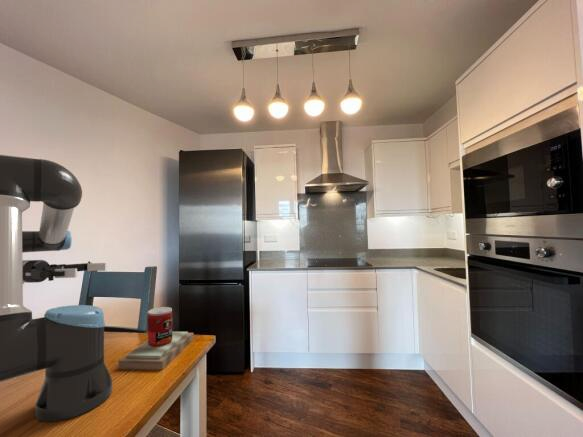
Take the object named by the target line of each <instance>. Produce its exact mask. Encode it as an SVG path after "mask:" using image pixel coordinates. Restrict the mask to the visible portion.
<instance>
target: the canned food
mask: <svg viewBox="0 0 583 437" xmlns="http://www.w3.org/2000/svg"><path fill="white" fill-rule="evenodd" d="M172 332H173V308H172V307H169V306H160V307H155V308H151V309H149V310H148V311H147V340H148V344H149V345H150V346H152V347H159V346H164V345H167V344H169V343H170V342H171V341H172Z"/></svg>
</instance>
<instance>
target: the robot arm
mask: <svg viewBox="0 0 583 437" xmlns="http://www.w3.org/2000/svg"><path fill="white" fill-rule="evenodd" d="M82 198H83V189H82V186H81V183H80V181H79V180H78V178H77V177H76V176H75V175H74V173H72V172H71V170H69V169H67V168H66V167H64V166H63V165H62V164H60V163H58V162H54V161H52V160H49V159H41V158H32V157H30V158H29V157H23V156H14V155H5V154H4V155H3V154H0V383H1V382H5V381H9V380H12V379H15V378H18V377H21V376H25V375H29V374H31V373H35V372H38V371H42V370H45V371H44V372H45V376H44V377H45V378H44V381H43V384H42V385H41V388H40V391H39V394H38V397H37V399H36V401H35V402H36V403H35V406H34V409H35V410H34V413H35V414H34V415H35V418H36V419H37V420H38V421H40V422H47V423H48V422H49V423H51V422H59V421H64V420H68V419H72V418H74V417H78V416H80V415H83V414H85V413H87V412H90V411H92V410H93V409H95V408H97V407H99V406H100V405H101V404H103V403H105V401H107V399H109V397H110V396H111V395H112V393H113V380H112V377H111V374H110V373H109V370H108V368H107V366H106V363H105V327H106V324H105V316H104V310H102V308H100V307H99V306H95V305H88V304H87V305H86V304H77V305H76V304H75V305H74V304H73V305H65V306H64V305H63V306H62V305H61V306H57V307H52V308H49V309H47V310H46V311H45V313H44V314H43V315H44V317H39V318H33V311H32V310H31V309H29V308H28V307H26V306H24V284H25V283H42V282H44V281H45V280H47V279H48V281H54V279H67V278H68V279H71V278H73V279H74V278H77V277H78V272H85V271H87V272H97V271H99V272H100V271H107V270H108V269H107V267H108V266H107V262H91V261H87V263H73V264H72V263H69V264H66V263H64V264H63V263H62V264H56V263H55V264H53V263H52V264H50V263H49V262H48V261H46V260H44V259H33V260H32V259H27V260H23V254H24V253H38V252H39V253H40V252H54V251H55V252H59V251H66V250H69V249H71V247H72V242H73V241H72V240H73V239H72V233H71V231H69V226H70V223H71V220H72V217H73V213H74V210H75V208H77V206H79V205H80V203H81V201H82ZM31 202H35V203H36V202H37V203H38V202H41V203H43V205H42V212H41V218H40V225H39V230H33V231H32V230H30V231H29V230H25V231H24V230H23V212H25V211H27V210H28V209H29V208H30V206H31Z"/></svg>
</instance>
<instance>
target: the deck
mask: <svg viewBox="0 0 583 437" xmlns="http://www.w3.org/2000/svg"><path fill="white" fill-rule="evenodd" d="M194 340H195V334H194V332H189V331H172V341H171V342H170V343H169V344H167V345H164V346H159V347H152V346H150V345H149V344H148V339H147V340H146V341H145V342H143V343H142V344H140V345H138V347H136V348H135V349H133V350H132V351H130V352H129V353H128V354H127V355H125V356H123V357H122V358H121V359H119V360H118V370H144V371H145V370H151V371H152V370H153V371H155V370H156V371H158V370H159V371H163V370H164V369H165V368H166V367H167V366H169V365H170V364H171V362H172V361H173V360H174V359H176V358H177V356H178V355H180V354H181V352H182V351H184V350H185V349H186V348H187V347H188V345H190V344H192V342H193V341H194Z"/></svg>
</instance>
